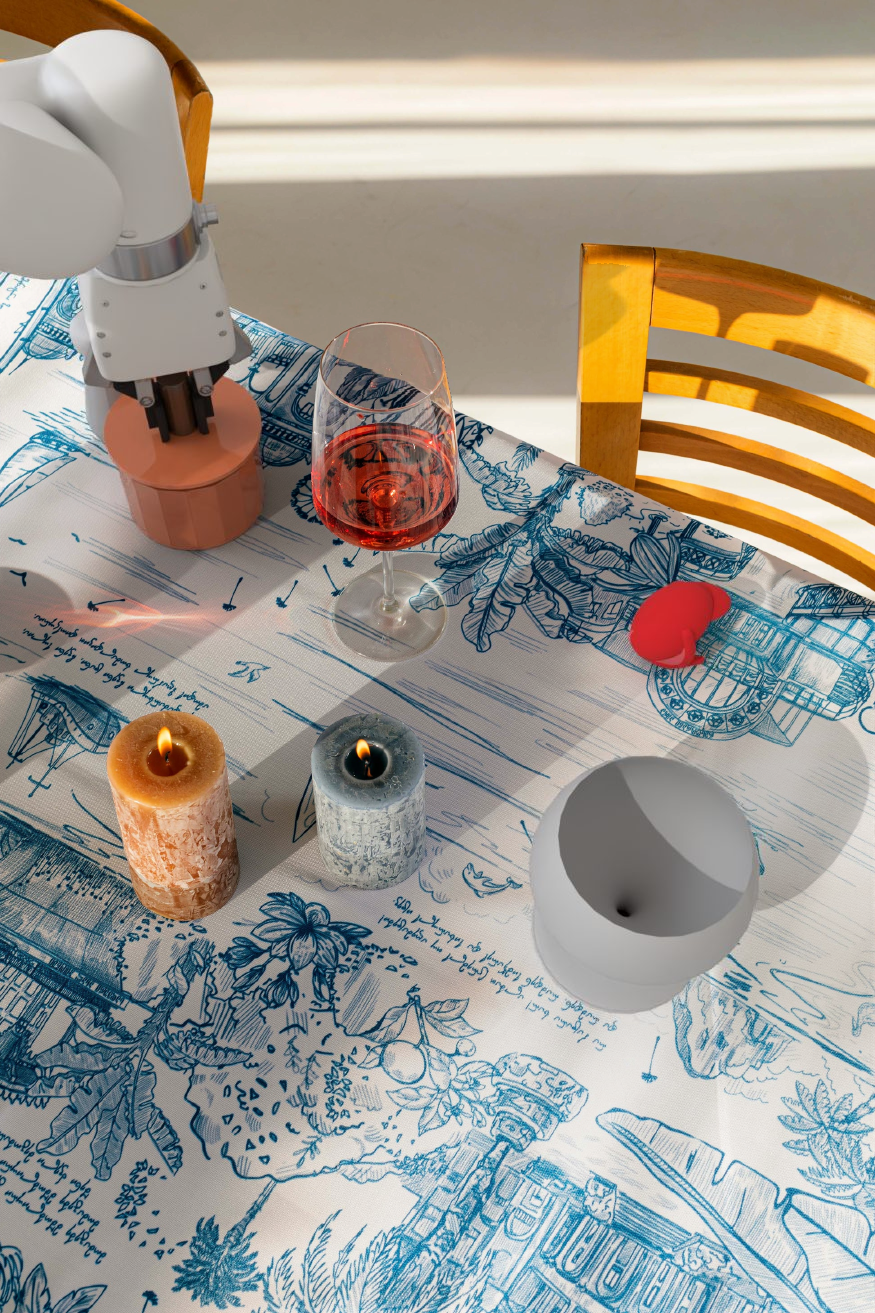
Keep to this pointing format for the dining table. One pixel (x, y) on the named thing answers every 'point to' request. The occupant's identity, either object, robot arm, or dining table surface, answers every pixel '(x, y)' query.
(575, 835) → the chalice
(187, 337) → the robot arm
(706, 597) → the cap
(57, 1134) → the dining table surface
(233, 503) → the pot
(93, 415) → the salt shaker
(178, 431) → the lid
